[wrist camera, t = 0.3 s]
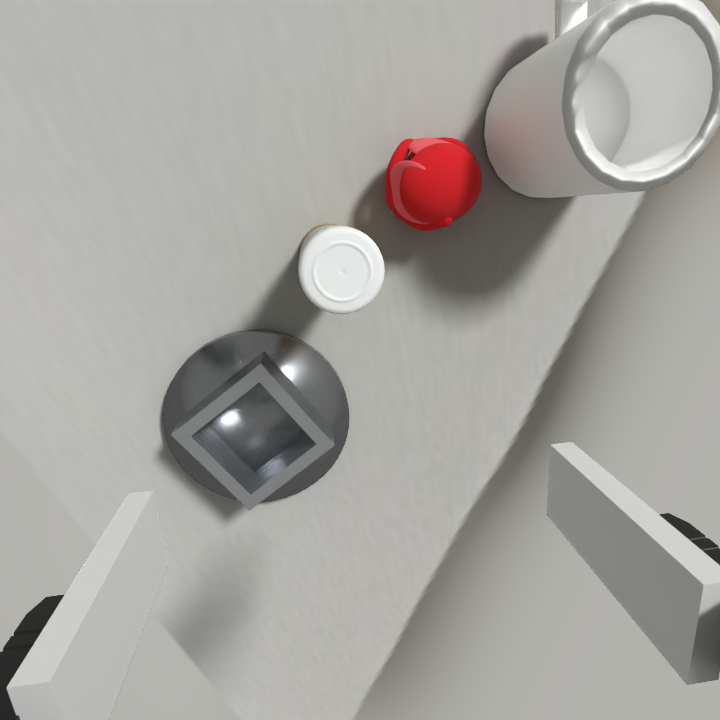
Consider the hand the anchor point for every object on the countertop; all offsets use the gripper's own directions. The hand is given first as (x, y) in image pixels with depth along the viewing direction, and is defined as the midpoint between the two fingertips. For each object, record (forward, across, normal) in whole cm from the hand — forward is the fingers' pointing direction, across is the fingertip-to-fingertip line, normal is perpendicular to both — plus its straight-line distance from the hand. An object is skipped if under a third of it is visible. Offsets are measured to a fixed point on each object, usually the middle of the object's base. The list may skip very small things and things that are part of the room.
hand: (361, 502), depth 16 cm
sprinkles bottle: (+25, +1, +6) cm, 26 cm away
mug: (+25, +18, +16) cm, 34 cm away
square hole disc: (+25, -6, -7) cm, 26 cm away
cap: (+25, +9, +11) cm, 29 cm away
